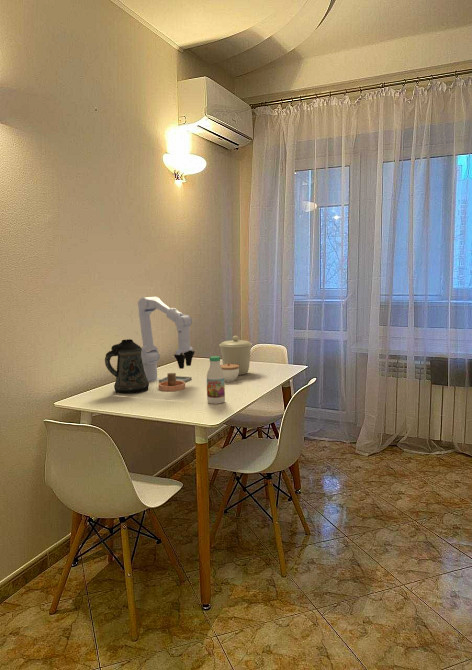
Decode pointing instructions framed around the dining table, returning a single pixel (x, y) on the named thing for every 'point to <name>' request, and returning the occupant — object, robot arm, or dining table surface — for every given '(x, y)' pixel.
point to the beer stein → (128, 368)
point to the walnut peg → (171, 379)
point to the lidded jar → (230, 372)
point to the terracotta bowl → (165, 387)
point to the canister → (236, 353)
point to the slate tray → (177, 379)
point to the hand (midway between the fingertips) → (185, 367)
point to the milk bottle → (215, 382)
